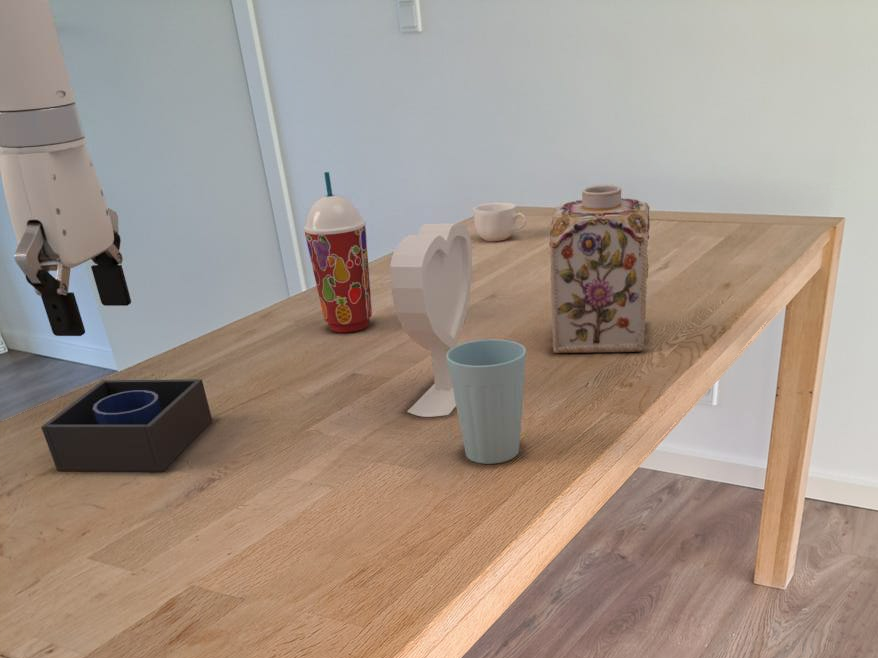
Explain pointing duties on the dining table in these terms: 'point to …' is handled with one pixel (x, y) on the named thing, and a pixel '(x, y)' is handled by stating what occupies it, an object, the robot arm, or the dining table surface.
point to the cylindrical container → (128, 408)
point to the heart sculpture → (433, 301)
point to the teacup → (496, 220)
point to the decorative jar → (599, 272)
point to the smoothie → (339, 261)
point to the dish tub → (128, 429)
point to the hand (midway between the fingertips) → (94, 319)
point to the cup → (488, 397)
